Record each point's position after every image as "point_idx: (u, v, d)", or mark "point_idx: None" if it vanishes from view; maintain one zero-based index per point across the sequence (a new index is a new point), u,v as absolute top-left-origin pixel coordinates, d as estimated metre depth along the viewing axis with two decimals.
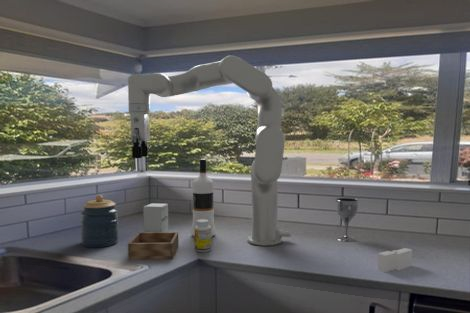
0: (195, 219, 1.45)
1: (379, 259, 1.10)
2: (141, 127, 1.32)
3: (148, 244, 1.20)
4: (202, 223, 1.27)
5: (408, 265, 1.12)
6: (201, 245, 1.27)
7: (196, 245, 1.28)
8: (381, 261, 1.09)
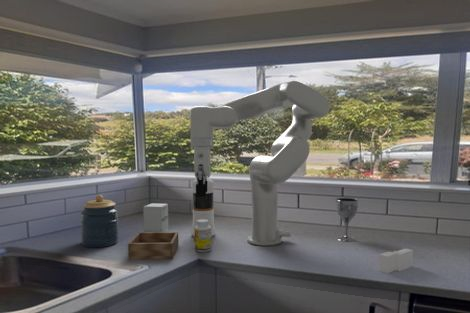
0: (195, 219, 1.45)
1: (380, 260, 1.09)
2: (206, 164, 1.23)
3: (148, 244, 1.20)
4: (202, 223, 1.27)
5: (409, 265, 1.12)
6: (201, 245, 1.27)
7: (196, 245, 1.28)
8: (382, 262, 1.08)
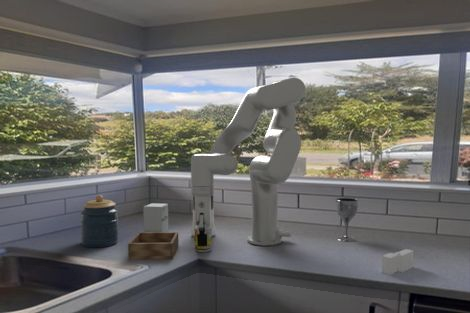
0: None
1: (383, 262, 1.07)
2: (207, 212, 1.24)
3: (148, 244, 1.20)
4: None
5: (410, 266, 1.11)
6: None
7: (196, 245, 1.28)
8: (385, 264, 1.07)
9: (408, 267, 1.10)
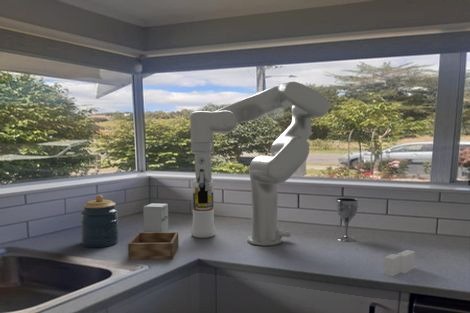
0: (195, 219, 1.45)
1: (386, 263, 1.06)
2: (207, 169, 1.23)
3: (148, 244, 1.20)
4: None
5: (411, 267, 1.10)
6: None
7: (196, 203, 1.27)
8: (388, 265, 1.06)
9: (410, 268, 1.10)
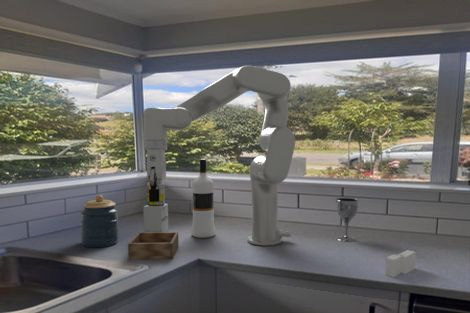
0: (195, 219, 1.45)
1: (387, 264, 1.06)
2: (158, 166, 1.21)
3: (148, 244, 1.20)
4: (154, 178, 1.24)
5: (412, 268, 1.10)
6: None
7: (148, 201, 1.25)
8: (389, 266, 1.05)
9: (410, 268, 1.09)
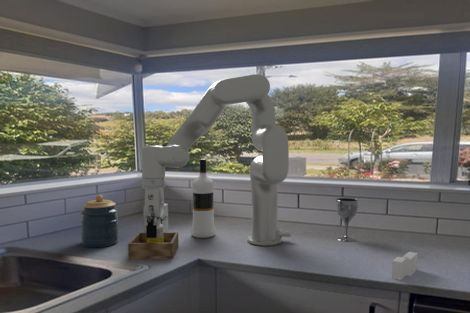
0: (195, 219, 1.45)
1: (394, 266, 1.03)
2: (156, 205, 1.22)
3: (148, 244, 1.20)
4: None
5: (415, 269, 1.09)
6: None
7: None
8: (396, 268, 1.03)
9: (414, 270, 1.08)
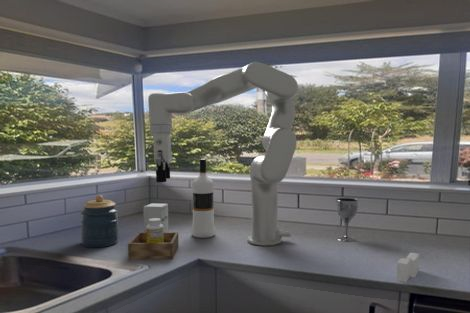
0: (195, 219, 1.45)
1: (398, 268, 1.02)
2: (165, 149, 1.25)
3: (148, 244, 1.20)
4: (153, 222, 1.25)
5: (417, 270, 1.08)
6: None
7: None
8: (401, 270, 1.01)
9: (416, 271, 1.07)
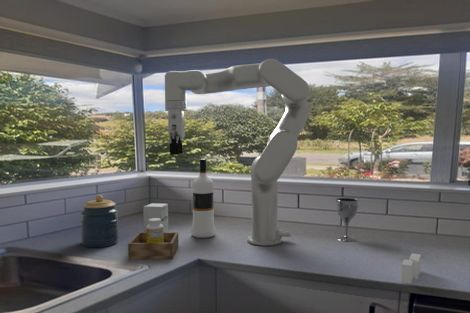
0: (195, 219, 1.45)
1: (403, 270, 1.01)
2: (179, 124, 1.32)
3: (148, 244, 1.20)
4: (153, 222, 1.25)
5: (419, 271, 1.07)
6: None
7: None
8: (406, 272, 1.00)
9: (419, 272, 1.06)
